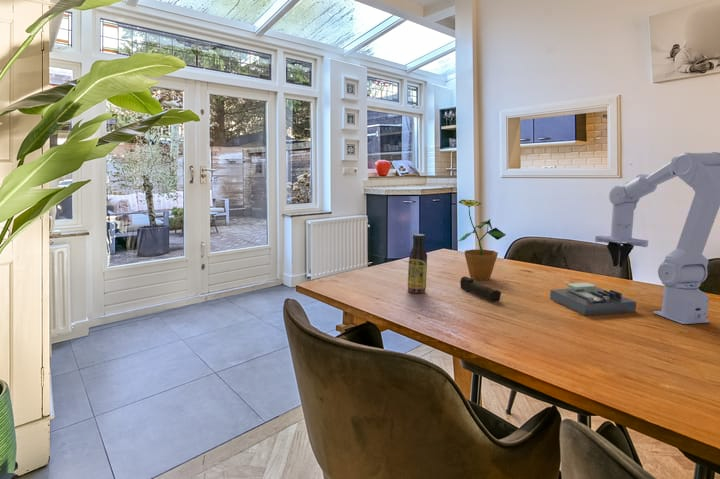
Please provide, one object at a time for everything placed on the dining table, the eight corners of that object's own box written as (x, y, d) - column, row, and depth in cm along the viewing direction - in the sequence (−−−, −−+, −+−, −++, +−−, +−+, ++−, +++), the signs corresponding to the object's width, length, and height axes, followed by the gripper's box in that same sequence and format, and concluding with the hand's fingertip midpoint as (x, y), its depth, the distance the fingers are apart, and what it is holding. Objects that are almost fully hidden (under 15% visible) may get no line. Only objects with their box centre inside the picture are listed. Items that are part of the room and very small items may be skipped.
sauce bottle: (405, 292, 141) (405, 235, 138) (411, 288, 146) (411, 232, 143) (423, 295, 138) (423, 236, 134) (429, 290, 143) (429, 233, 140)
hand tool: (501, 302, 129) (502, 287, 129) (490, 303, 128) (491, 289, 128) (467, 287, 147) (467, 274, 147) (457, 288, 146) (458, 275, 145)
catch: (595, 292, 127) (596, 285, 126) (574, 293, 126) (575, 287, 125) (586, 288, 131) (587, 282, 130) (566, 290, 130) (566, 283, 129)
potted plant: (454, 282, 153) (456, 201, 148) (458, 271, 170) (459, 198, 166) (506, 285, 147) (509, 201, 143) (503, 273, 165) (506, 198, 160)
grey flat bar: (603, 301, 117) (604, 298, 117) (594, 302, 117) (594, 299, 117) (574, 289, 129) (575, 287, 129) (566, 290, 129) (566, 287, 129)
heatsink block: (635, 311, 118) (636, 296, 117) (584, 315, 115) (585, 300, 115) (595, 295, 133) (596, 282, 133) (550, 299, 131) (550, 285, 130)
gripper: (592, 223, 134) (589, 264, 136) (644, 227, 123) (640, 272, 125) (601, 221, 138) (598, 261, 140) (652, 225, 127) (648, 268, 129)
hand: (618, 266), depth 133 cm, fingers closed
